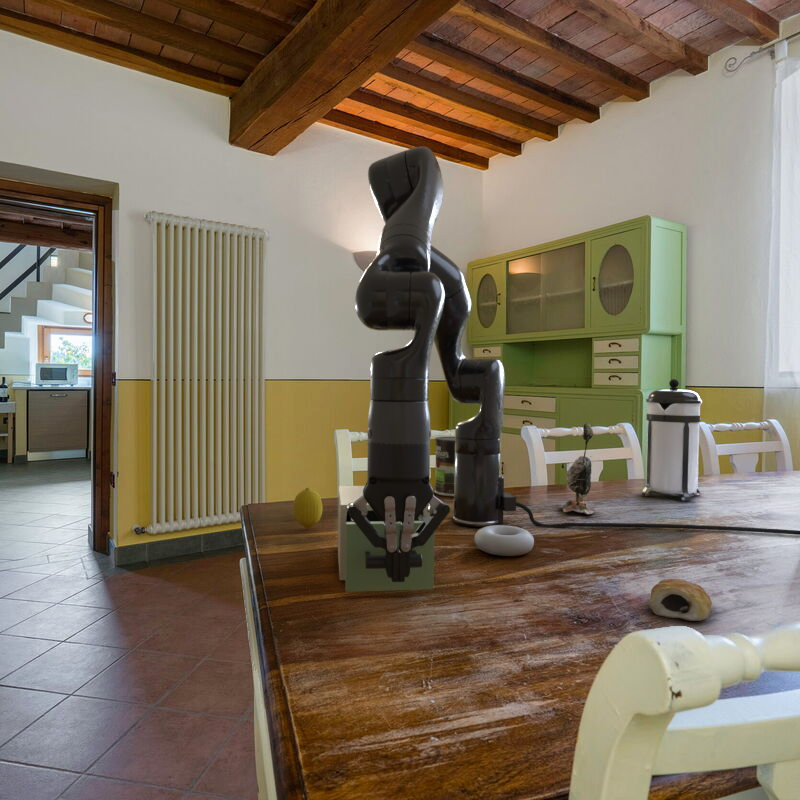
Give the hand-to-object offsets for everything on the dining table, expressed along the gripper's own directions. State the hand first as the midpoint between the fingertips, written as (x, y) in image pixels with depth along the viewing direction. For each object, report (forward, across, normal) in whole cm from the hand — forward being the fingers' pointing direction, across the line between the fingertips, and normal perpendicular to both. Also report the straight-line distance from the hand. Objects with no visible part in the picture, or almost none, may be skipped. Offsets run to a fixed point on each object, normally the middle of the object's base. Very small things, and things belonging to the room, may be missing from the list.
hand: (397, 579), depth 69 cm
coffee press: (+5, -80, -68) cm, 105 cm away
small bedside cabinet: (+4, 0, -20) cm, 20 cm away
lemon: (+4, +12, -41) cm, 43 cm away
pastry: (+5, -36, +2) cm, 36 cm away
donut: (+4, -22, -25) cm, 33 cm away
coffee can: (+5, -24, -74) cm, 78 cm away
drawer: (+3, 0, -10) cm, 11 cm away
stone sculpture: (+5, -47, -52) cm, 70 cm away
